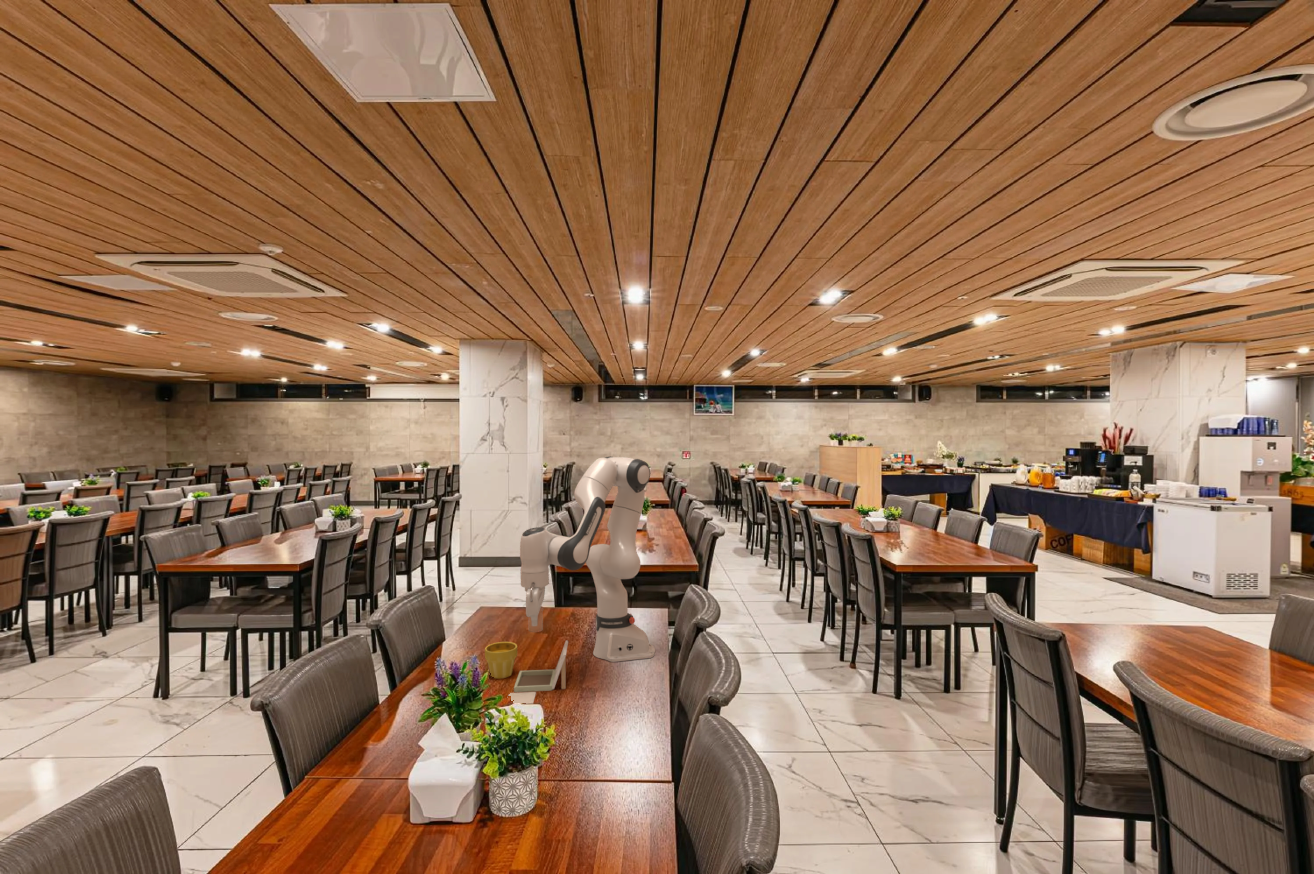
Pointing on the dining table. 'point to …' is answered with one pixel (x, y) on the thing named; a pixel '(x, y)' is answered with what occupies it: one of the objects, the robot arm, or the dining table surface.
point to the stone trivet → (523, 697)
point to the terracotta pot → (540, 623)
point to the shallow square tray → (534, 680)
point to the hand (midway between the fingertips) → (535, 622)
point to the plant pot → (501, 658)
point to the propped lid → (561, 668)
